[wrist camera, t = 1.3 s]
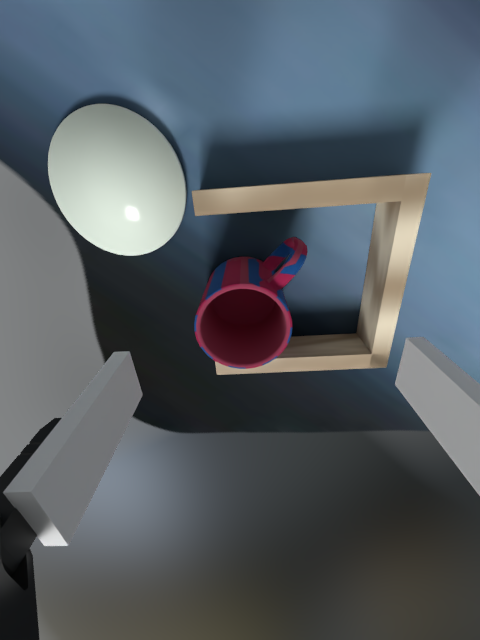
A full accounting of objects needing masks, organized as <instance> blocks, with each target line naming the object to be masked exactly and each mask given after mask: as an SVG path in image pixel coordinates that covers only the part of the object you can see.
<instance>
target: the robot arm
mask: <svg viewBox="0 0 480 640" xmlns="http://www.w3.org/2000/svg"><path fill="white" fill-rule="evenodd" d="M395 385H396V386H397V388H398V389H399V390H400V392H401V393H402V394H403V396H404V397H405V398H406V400H407V401H408V402H409V404H410V405H411V406H412V407H413V409H414V410H415V411H416V413H417V414H418V415H419V417H420V418H421V419H422V421H423V422H424V423H425V425H426V426H427V427H428V429H429V430H430V431H431V432H432V434H433V435H434V436H435V437H436V439H437V440H438V442H439V443H440V444H441V446H442V447H443V448H444V450H445V451H446V452H447V453H448V455H449V456H450V457H451V459H452V460H453V461H454V463H455V464H456V465H457V467H458V468H459V469H460V470H461V472H462V473H463V474H464V476H465V477H466V478H467V480H468V481H469V482H470V484H471V485H472V486H473V488H474V489H475V490H476V492H477V493H478V494H479V496H480V384H479V383H478V382H476V381H475V380H474V379H473V378H472V377H471V376H469V375H468V374H467V373H466V372H465V371H463V370H462V369H461V368H460V367H459V366H457V365H456V364H455V363H454V362H453V361H451V360H450V359H449V358H448V357H447V356H446V355H444V354H443V353H442V352H441V351H440V350H438V349H437V348H436V347H435V346H434V345H432V344H431V343H430V342H429V341H428V340H426V339H425V338H424V337H412V338H406V342H405V346H404V350H403V354H402V358H401V362H400V366H399V370H398V374H397V378H396V382H395ZM141 397H142V391H141V388H140V385H139V381H138V378H137V375H136V371H135V368H134V365H133V362H132V358H131V355H130V352H129V351H127V352H114V353H113V354H112V355H111V357H110V358H109V359H108V360H107V362H106V363H105V364H104V366H103V367H102V368H101V369H100V371H99V372H98V373H97V374H96V376H95V377H94V378H93V379H92V381H91V382H90V383H89V384H88V386H87V387H86V388H85V389H84V391H83V392H82V393H81V394H80V396H79V397H78V398H77V400H76V401H75V402H74V403H73V405H72V406H71V407H70V408H69V410H68V411H67V412H66V413H65V415H64V416H63V417H62V418H54V419H53V420H52V421H51V422H49V423H48V424H47V425H45V426H44V427H43V428H42V429H40V430H39V432H38V433H37V434H36V435H35V436H34V437H33V439H32V440H31V441H30V444H29V445H27V446H26V447H25V448H24V449H23V451H22V452H21V454H20V455H18V456H17V458H16V459H15V460H14V461H13V462H12V464H11V465H10V466H9V467H8V468H7V469H6V471H5V472H4V473H3V474H2V475H1V477H0V640H39V628H38V616H37V604H36V591H35V579H34V566H33V555H32V553H31V550H30V549H29V548H30V547H31V545H32V543H33V541H34V540H35V538H36V536H37V537H38V538H39V539H40V541H41V542H42V543H43V544H44V546H68V545H69V543H70V541H71V539H72V537H73V535H74V533H75V531H76V529H77V527H78V525H79V523H80V521H81V519H82V517H83V515H84V513H85V511H86V509H87V507H88V505H89V503H90V501H91V499H92V497H93V495H94V493H95V491H96V488H97V487H98V484H99V482H100V480H101V478H102V476H103V474H104V472H105V470H106V468H107V466H108V464H109V462H110V460H111V458H112V456H113V454H114V452H115V450H116V448H117V446H118V444H119V442H120V440H121V438H122V436H123V434H124V432H125V430H126V428H127V425H128V423H129V421H130V419H131V417H132V415H133V413H134V411H135V409H136V407H137V405H138V403H139V401H140V399H141Z"/></svg>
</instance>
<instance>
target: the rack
mask: <svg viewBox="0 0 480 640" xmlns="http://www.w3.org/2000/svg"><path fill="white" fill-rule="evenodd" d="M430 176H431V173H420V174H400V175H387V176H374V177H361V178H348V179H334V180H321V181H308V182H295V183H282V184H269V185H256V186H242V187H229V188H216V189H203V190H195V191H192V196H193V204H194V211H195V216H201V215H215V214H229V213H243V212H257V211H271V210H285V209H298V208H312V207H326V206H340V205H354V204H368V203H377V204H376V210H375V217H374V223H373V230H372V236H371V243H370V249H369V255H368V262H367V268H366V275H365V281H364V288H363V294H362V301H361V307H360V313H359V320H358V326H357V333H354V334H334V335H314V336H294V337H291V338H290V341H289V343H288V345H287V347H286V348H285V349H284V351H283V352H282V353H281V354H280V355H279V356H278V357H277V358H276V359H274V360H272V361H271V362H269V363H267V364H265V365H262V366H259V367H256V368H249V369H237V368H231V367H228V366H225V365H222V364H220V363H218V362H216V361H215V364H216V372H217V375H223V374H246V373H269V372H292V371H315V370H338V369H361V368H384V367H387V362H388V358H389V354H390V349H391V345H392V341H393V336H394V332H395V328H396V323H397V319H398V315H399V310H400V306H401V302H402V297H403V293H404V289H405V284H406V280H407V276H408V271H409V267H410V263H411V259H412V254H413V250H414V246H415V241H416V237H417V233H418V228H419V224H420V220H421V215H422V211H423V207H424V202H425V198H426V194H427V189H428V185H429V181H430Z"/></svg>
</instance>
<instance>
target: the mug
mask: <svg viewBox="0 0 480 640" xmlns="http://www.w3.org/2000/svg"><path fill="white" fill-rule="evenodd" d="M290 253H291V254H290ZM289 254H290V256H289V257H288V259H287V260H286V262H285V263H284V264H283V266H282V267H281V268H280V269H279V270H278V271H277V272H276V273H275V272H274V271H275V269H276V268H277V267H278V266H279V264H280V263H281V262H282V261H283V260H284V259H285V258H286V257H287V256H288V255H289ZM306 256H307V246H306V245H305V244H304V242H303V241H302V240H300V239H298V238H297V237H292V238H289V239H287V240H285V241H284V242H283V243H282V244H281V245H280V246H278V247H277V248H276V249H275V250H274V251H273V252H272V253H271V255H270V256H269V257H268V258H267V259H266V260H265V261H264V262H263V261H261V260H258V259H256V258H252V257H235V258H232V259H229V260H227V261H225V262H223V263H221V264H220V265H219V266H218V267H217V268H216V269H215V270H214V271H213V273H212V274H211V276H210V278H209V281H208V283H207V286H206V289H205V291H204V294H203V297H202V299H201V302H200V305H199V308H198V310H197V313H196V316H195V322H194V329H195V335H196V339H197V341H198V343H199V345H200V347H201V348H202V349H203V351H204V352H205V353H206V354H207V355H208V356H209V357H210V358H212V359H213V360H215V361H216V362H218V363H220V364H222V365H225V366H228V367H231V368H237V369H249V368H256V367H259V366H262V365H265V364H267V363H269V362H271V361H272V360H274V359H276V358H277V357H278V356H279V355H280V354H281V353H282V352H283V351H284V349H285V348H286V347H287V345H288V343H289V341H290V338H291V335H292V327H293V326H292V318H291V314H290V311H289V308H288V305H287V302H286V299H285V296H284V294H283V291H282V288H283V287H284V286H285V285H286V284H287V283H288V282H290V281H291V279H292V278H293V277H294V276H295V275H296V274H297V272H298V271H299V270H300V268H301V267H302V265H303V264H304V261H305V259H306Z"/></svg>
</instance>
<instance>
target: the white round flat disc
mask: <svg viewBox="0 0 480 640" xmlns="http://www.w3.org/2000/svg"><path fill="white" fill-rule="evenodd" d="M48 174H49V179H50V184H51V188H52V191H53V194H54V197H55V199H56V202H57V204H58V206H59V207H60V209H61V211H62V213H63V214H64V216H65V217H66V219H67V220H68V221H69V223H70V224H71V225H72V226H73V227H74V229H75V230H76V231H77V232H79V233H80V234H81V235H82V236H83V237H84V238H85V239H87V240H88V241H89V242H91V243H92V244H94V245H96V246H98V247H99V248H101V249H103V250H106V251H109V252H111V253H115V254H119V255H127V256H135V255H142V254H146V253H150V252H152V251H154V250H156V249H158V248H159V247H161V246H163V245H164V244H165V243H166V242H167V241H169V240H170V239H171V238H172V236H173V235H174V234H175V233H176V231H177V230H178V228H179V226H180V224H181V222H182V220H183V216H184V213H185V208H186V202H187V190H186V181H185V176H184V172H183V169H182V166H181V163H180V161H179V159H178V156H177V154H176V152H175V151H174V149H173V147H172V146H171V144H170V143H169V141H168V140H167V139H166V137H165V136H164V135H163V134H162V133H161V132H160V131H159V130H158V129H157V128H156V127H155V126H154V125H153V124H152V123H150V122H149V121H148V120H146V119H145V118H143V117H142V116H140V115H139V114H137V113H135V112H133V111H131V110H129V109H127V108H123V107H120V106H117V105H111V104H93V105H88V106H85V107H82V108H80V109H78V110H76V111H74V112H73V113H71V114H70V115H69V116H67V117H66V118H65V119H64V120H63V121H62V123H61V124H60V125H59V126H58V128H57V130H56V132H55V134H54V135H53V138H52V141H51V144H50V149H49V154H48Z"/></svg>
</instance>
